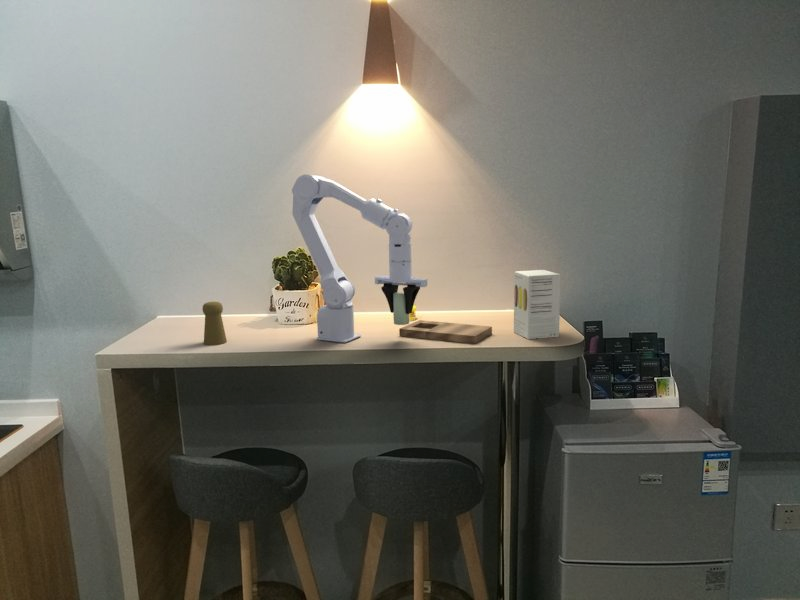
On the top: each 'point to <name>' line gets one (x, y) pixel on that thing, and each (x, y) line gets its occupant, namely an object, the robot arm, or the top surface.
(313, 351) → the top surface
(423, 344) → the top surface
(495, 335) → the top surface
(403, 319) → the peg
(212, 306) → the cork
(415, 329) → the walnut board
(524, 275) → the supplement box
